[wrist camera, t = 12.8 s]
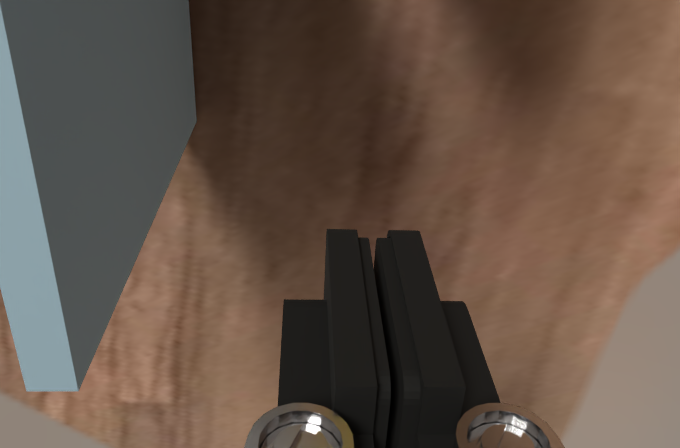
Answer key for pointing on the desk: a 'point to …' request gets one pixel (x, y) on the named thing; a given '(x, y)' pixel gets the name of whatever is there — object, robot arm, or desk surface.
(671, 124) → the desk surface
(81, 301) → the door
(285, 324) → the robot arm
